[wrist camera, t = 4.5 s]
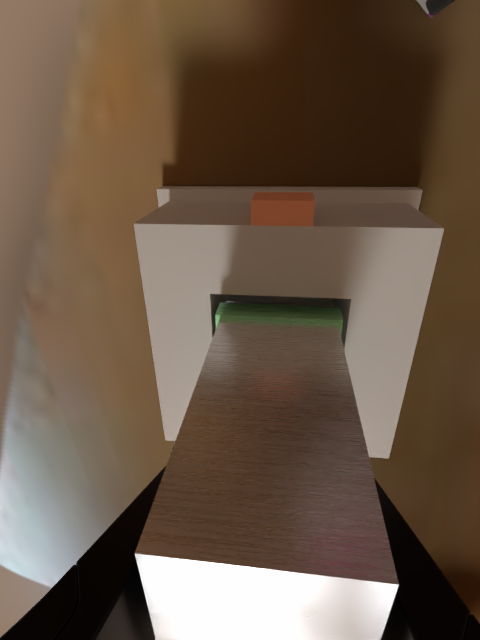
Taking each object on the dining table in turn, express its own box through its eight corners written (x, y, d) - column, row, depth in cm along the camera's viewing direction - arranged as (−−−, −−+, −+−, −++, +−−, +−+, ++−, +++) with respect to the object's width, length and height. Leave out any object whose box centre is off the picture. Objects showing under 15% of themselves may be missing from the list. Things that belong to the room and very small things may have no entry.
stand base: (418, 179, 16) (468, 201, 11) (375, 394, 21) (398, 467, 16) (161, 179, 17) (115, 199, 12) (183, 382, 22) (156, 447, 18)
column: (338, 301, 14) (411, 580, 5) (326, 394, 16) (368, 703, 7) (222, 297, 14) (124, 546, 6) (225, 387, 16) (156, 670, 8)
